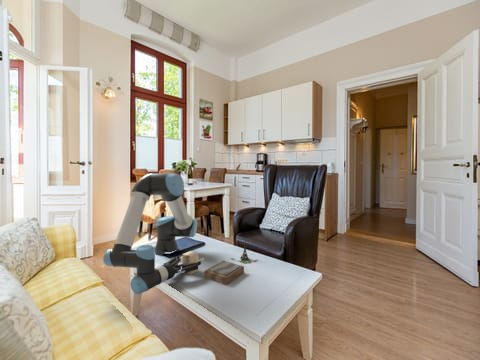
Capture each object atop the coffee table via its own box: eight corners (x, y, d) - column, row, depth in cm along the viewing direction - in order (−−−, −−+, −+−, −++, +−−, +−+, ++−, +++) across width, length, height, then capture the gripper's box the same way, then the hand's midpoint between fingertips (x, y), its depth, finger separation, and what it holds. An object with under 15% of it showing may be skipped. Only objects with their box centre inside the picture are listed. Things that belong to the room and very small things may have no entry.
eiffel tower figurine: (229, 259, 146) (229, 238, 146) (239, 255, 154) (239, 235, 154) (249, 266, 137) (249, 243, 137) (258, 260, 146) (259, 239, 145)
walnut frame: (204, 277, 122) (204, 269, 121) (223, 266, 135) (223, 259, 135) (226, 285, 114) (226, 277, 114) (243, 272, 128) (243, 265, 127)
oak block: (182, 272, 127) (182, 254, 127) (190, 268, 133) (190, 250, 132) (190, 275, 124) (190, 256, 124) (198, 270, 129) (198, 253, 129)
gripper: (148, 274, 119) (181, 260, 138) (180, 287, 107) (211, 269, 126) (148, 260, 119) (181, 247, 137) (180, 271, 107) (211, 256, 125)
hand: (195, 258), depth 132 cm, fingers open, 10 cm apart
